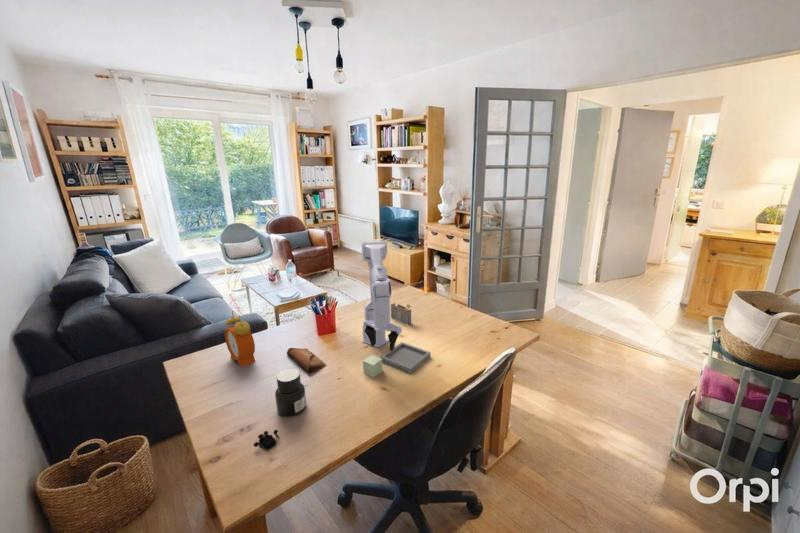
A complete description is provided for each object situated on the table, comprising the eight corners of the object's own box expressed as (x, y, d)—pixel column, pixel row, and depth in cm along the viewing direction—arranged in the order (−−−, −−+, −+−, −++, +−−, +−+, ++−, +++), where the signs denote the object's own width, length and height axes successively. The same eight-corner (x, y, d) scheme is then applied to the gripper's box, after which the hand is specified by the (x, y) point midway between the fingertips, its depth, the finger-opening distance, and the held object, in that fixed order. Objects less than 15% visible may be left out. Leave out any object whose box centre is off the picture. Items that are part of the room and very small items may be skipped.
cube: (363, 372, 127) (363, 360, 125) (372, 366, 130) (371, 354, 129) (373, 377, 124) (373, 365, 122) (382, 370, 128) (382, 359, 126)
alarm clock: (227, 356, 137) (219, 310, 131) (242, 350, 142) (236, 305, 136) (241, 369, 129) (234, 320, 123) (257, 362, 133) (251, 315, 127)
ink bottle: (304, 416, 104) (301, 383, 101) (274, 420, 103) (270, 386, 100) (307, 396, 114) (304, 364, 110) (280, 399, 112) (276, 367, 109)
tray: (380, 361, 134) (380, 356, 133) (401, 346, 144) (401, 342, 144) (410, 373, 126) (410, 368, 125) (430, 356, 136) (430, 352, 136)
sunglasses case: (328, 365, 131) (319, 355, 127) (315, 380, 128) (305, 370, 124) (305, 347, 143) (296, 338, 139) (293, 361, 140) (283, 351, 137)
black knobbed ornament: (260, 452, 90) (250, 439, 93) (259, 458, 91) (249, 444, 94) (283, 437, 95) (273, 424, 98) (282, 442, 97) (273, 429, 99)
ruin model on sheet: (411, 323, 166) (411, 305, 163) (407, 325, 164) (407, 306, 161) (395, 316, 173) (395, 298, 171) (391, 318, 171) (390, 300, 169)
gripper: (358, 313, 121) (359, 348, 125) (395, 321, 115) (395, 357, 119) (368, 306, 127) (369, 339, 131) (404, 313, 121) (404, 347, 125)
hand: (382, 347), depth 125 cm, fingers open, 7 cm apart
